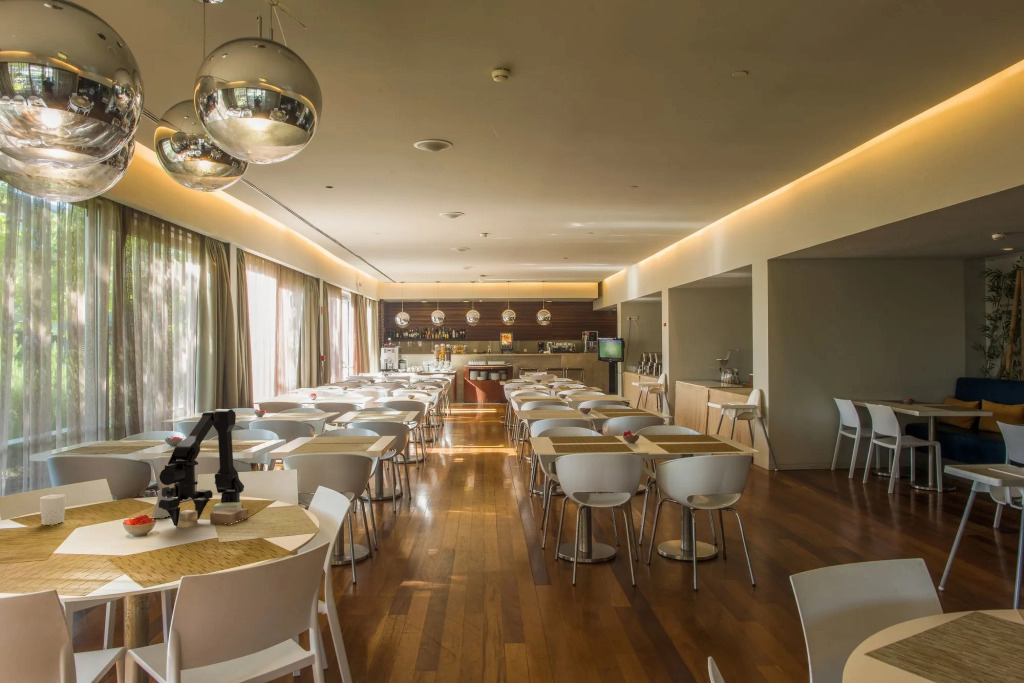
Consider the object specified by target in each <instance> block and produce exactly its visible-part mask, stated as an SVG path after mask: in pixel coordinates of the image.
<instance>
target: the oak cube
mask: <svg viewBox="0 0 1024 683" xmlns="http://www.w3.org/2000/svg"><path fill="white" fill-rule="evenodd" d="M196 524H198V515H197V511H195V510H192V509H191V510H190V509H185V510H182V511H180V513H179V520H178V525H177V526H179V527H178V528H181V527H188V528H190V527H189V526H191V527H193V526H192V525H195V526H197V525H196Z"/></svg>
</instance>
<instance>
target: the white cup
mask: <svg viewBox="0 0 1024 683" xmlns="http://www.w3.org/2000/svg"><path fill="white" fill-rule="evenodd" d="M39 510H40V511H39V512H40V518H41V525H42V524H55V523H60V522H63V521H64V522H65V513H66V494H64V493H57V494H56V493H55V494H54V493H53V494H47V495H44V496H40V497H39ZM64 522H63V523H64Z"/></svg>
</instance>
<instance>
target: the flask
mask: <svg viewBox="0 0 1024 683" xmlns="http://www.w3.org/2000/svg"><path fill="white" fill-rule="evenodd" d="M156 493H157V499H156V503H155V506H154V509H153V511H152V514H151V516H152V517H155V518H160V519H166V518H165V517H167V518H169V517H168V516H170V515H169V513H168V512H167V511H166V510H163V509H162V508H159V501H160V500H161V499H165V498H167V497H163V496H162V489H160V490H156Z"/></svg>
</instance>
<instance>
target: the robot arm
mask: <svg viewBox="0 0 1024 683" xmlns="http://www.w3.org/2000/svg"><path fill="white" fill-rule="evenodd" d="M236 418H237V415H236V411H234V409H230V408H229V409H226V408H225V409H224V408H223V409H222V408H218V409H217V408H216V409H215V410H212V411H211V410H209V411H206V410H205V411H203V413H202V414H201V417H200V419H199V420H198V422H197V424H196V425H195V426H194V428H193V429H192V430H191V431H190V434H189V435H188V436H187V437H186V438H184V439H182V440H181V441H179V443H178V444H177V445H176V446H175V447H174V449H173V451H172V453H171V456H170V458H169V459H168V460H169V461H168V463H167V464H165V465H164V469H162V470H161V472H160V473H159V476H158V477H159V481H160V482H161V484H163V485H165V487H162V488H161V490H162V496H163V497H166V498H165V499H161V500H160V501H159V508H162V509H163V510H166V511H167V512H168V513H169V515H170V517H169V518H170V519H171V521H172V523H173V527H174V526H175V527H176V526H177V525H178V520H179V513H180V512H181V506H180V505H181V504H183V503H185V502H189V501H192V502H193V503H194V509H195V510H194V511H197V515H198V520H199V519H200V518H201V515H202V513H203V512H204V511H205V510H204V509H205V508H206V506H207V505H208V502H210V501H211V499H213V498H214V497H213V494H214V493H213V491H212V490H211V489H203V488H202V489H198V490H196V485H198V484H199V482H198V481H196V471H195V470H196V467H195V466H197V465H199V462H198V461H197V460H196V459H197V457H198V456H199V454H200V452H201V444H202V442H203V441H204V439H205V437H206V436H207V435H208V433H209V432H210V430H211V428H212V427H213V428H214V429H215V430H216V432H217V440H218V441H217V444H218V456H219V459H218V460H219V462H218V463H219V470H217V473H215V474H214V484H215V488H216V491H217V493H218V494H221V498H220V503H231V502H241V500H240V494H241V493H243V492H244V488H245V485H244V483H243V482H242V481H241V480H240V477H239V472H238V471H237V470H236V468H235V467H234V456H233V437H232V436H233V433H232V430H233V429H234V427H235V426H236V420H237V419H236ZM173 484H174V486H173V487H171V488H170V487H169V486H171V485H173ZM179 506H180V507H179ZM243 506H244V505H243V504H242V507H243Z"/></svg>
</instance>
